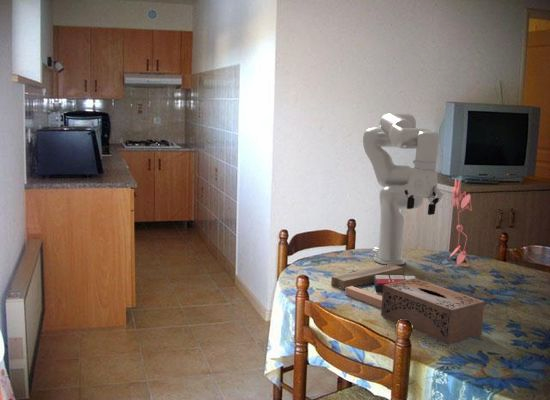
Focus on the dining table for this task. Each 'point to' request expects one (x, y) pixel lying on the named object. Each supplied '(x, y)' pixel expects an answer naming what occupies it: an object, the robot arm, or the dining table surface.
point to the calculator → (388, 280)
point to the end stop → (364, 296)
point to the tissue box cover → (433, 309)
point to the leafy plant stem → (457, 197)
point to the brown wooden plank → (365, 276)
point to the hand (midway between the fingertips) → (420, 211)
